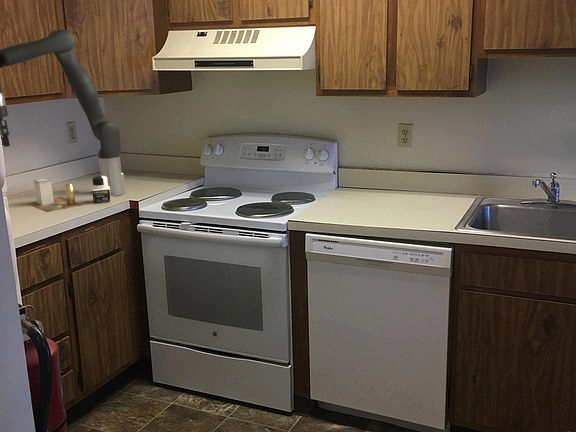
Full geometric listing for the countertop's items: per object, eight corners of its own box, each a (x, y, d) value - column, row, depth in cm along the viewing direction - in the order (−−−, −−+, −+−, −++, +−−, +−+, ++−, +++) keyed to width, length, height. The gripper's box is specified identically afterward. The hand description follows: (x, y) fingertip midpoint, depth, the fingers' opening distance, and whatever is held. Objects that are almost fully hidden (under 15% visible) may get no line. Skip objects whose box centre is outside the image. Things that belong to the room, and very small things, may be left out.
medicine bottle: (93, 206, 270) (90, 178, 267) (94, 203, 277) (90, 175, 274) (111, 205, 272) (108, 177, 269) (111, 201, 278) (108, 174, 275)
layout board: (62, 199, 287) (60, 185, 285) (85, 207, 269) (83, 193, 268) (25, 205, 277) (23, 191, 275) (47, 214, 259) (45, 199, 257)
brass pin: (73, 203, 271) (70, 182, 269) (76, 204, 269) (74, 183, 267) (66, 205, 269) (63, 184, 267) (69, 206, 267) (66, 185, 265)
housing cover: (48, 200, 279) (45, 178, 276) (54, 203, 274) (50, 180, 272) (37, 203, 276) (33, 180, 273) (42, 205, 271) (39, 182, 269)
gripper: (9, 104, 251) (18, 145, 255) (1, 104, 262) (10, 143, 266) (-11, 107, 246) (-2, 148, 251) (-18, 106, 258) (-9, 146, 262)
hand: (4, 145), depth 258 cm, fingers open, 8 cm apart
